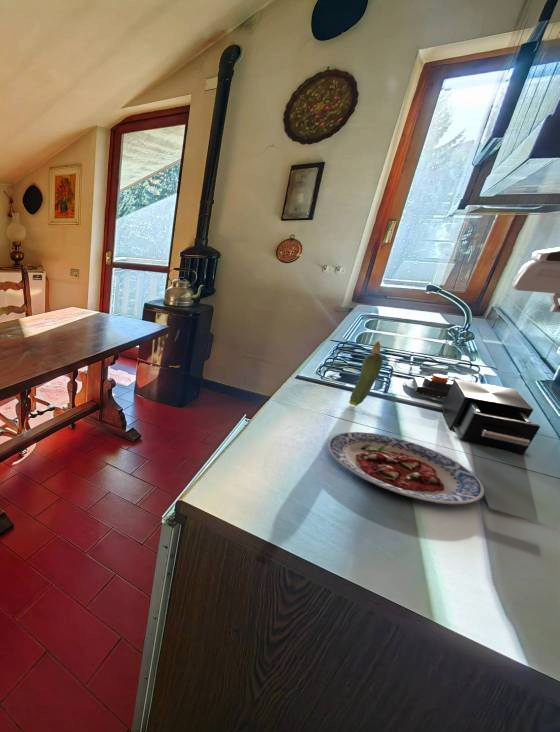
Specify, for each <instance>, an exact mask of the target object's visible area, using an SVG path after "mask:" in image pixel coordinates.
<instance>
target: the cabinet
mask: <svg viewBox="0 0 560 732" xmlns="http://www.w3.org/2000/svg"><path fill="white" fill-rule="evenodd" d="M452 382H453V384H452V386H451V388H450V390H449V393H448V395H447V397H446V398H444V402H443V403H442V404H441V405H442V406H441V408H440V411H441V413H442V416H443V419H444V420H445V423H446V425H447V427H448V429H449V430H450V431H452V432H453V431H454V432H456V429H455V428H454V427H456V426H458V425H457V423H458V421H459V419H460V417H461V414H462V412H463V410H464V408H465V406H466V404H467V402H468V400H469V401H474V402H479V403H484V404H490V405H495V406H500V407H505V408H511V409H516V410H521V411H522V412H523V413H524V414H525V415H526V416H527V418H528V419H530V416H531V415H532V413H533V411H534V409H533V407H532V406H531V405H530V404H529V402H527V401H526V399H525V398H524V397H523V396H522V395H521V394H520V393H519V392H518V390H516V389H515V388H510V387H504V386H498V385H493V384H487V383H481V382H476V381H470V380H463V379H457V378H455V379H453V381H452Z"/></svg>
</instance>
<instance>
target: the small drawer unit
mask: <svg viewBox="0 0 560 732" xmlns="http://www.w3.org/2000/svg"><path fill="white" fill-rule="evenodd" d="M456 426H457V427H458V429H459V432H460V433H461V436H460V437H459V438H460V441H462V442H466V443H471V444H474V445H479V446H483V447H488V448H491V449H496V450H501V451H505V452H509V453H513V454H517V455H522V456H524V455H525V453H526V452H527V450H528V449H529V447H530V445H531V443H532V442H533V440H534V438H535V436H536V435H537V434H538V431H539V430H540V428H541V426H540V425H539V424H537V423H532V421H531V420H530V418H527V416H526V415H525V414H524V413H523V412H522V411H521V410H516V409H511V408H505V407H500V406H495V405H490V404H484V403H479V402H474V401H469V400H468V402H467V404H466V406H465V408H464V410H463V412H462V414H461V417H460V419H459V421H458V423H457V425H456Z"/></svg>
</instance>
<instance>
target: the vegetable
mask: <svg viewBox="0 0 560 732" xmlns="http://www.w3.org/2000/svg"><path fill="white" fill-rule="evenodd" d="M380 353H381V343H380V341H378V340H377V341H376V342H375V343H374V345H373V346H372V349H371V353H369V354H367V355H365V357H364V359H363V360H362V362H361V363H362V364H361V369H360V375H359V377H358V381H357V382H356V384H355V386H354V387H353V390H352V392H351V395H350V398H349V401H348V403H349V405H351V406H354V407H358V406H359V405H360V404H361V403H363V402H364V400H365V399H366V398H367V397H368V395H369V394H370V391H371V389H372V387H373V386H374V384H375V382H376V380H377V378H378V376H379V374H380V372H381V369H382V366H383V363H384V362H383V361H384V360H383V357H382V355H380Z"/></svg>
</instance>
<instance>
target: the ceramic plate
mask: <svg viewBox="0 0 560 732" xmlns="http://www.w3.org/2000/svg"><path fill="white" fill-rule="evenodd" d="M328 450H329V452H330V454H331V456H333V458H334V459H335V460H336V461H337V462H338V463H339V464H340V465H342V466H343V467H344V468H346V469H347V470H349V472H350V471H351V473H353V474H354V475H356V476H358V477H359V478H362V479H363V480H366V481H367V482H369V483H372V484H374V485H375V486H378V487H380V488H382V489H385V490H387V491H391V492H394V493H396V494H399V495H402V496H406V497H409V498H413V499H416V500H420V501H426V502H430V503H436V504H443V505H444V504H445V505H466V504H471V503H475V502H478V501H479V500H480V499H482V498H483V496H484V495H485V488H484V487H485V486H484V485H483V483H482V482H481V480H480V479H479V477H477V475H475V474H474V473H473V472H472V471H470V470H469V469H468V468H466V466H464V465H462V464H461V463H459V462H458V461H456V460H454V459H452V458H450V457H449V456H447V455H444V454H443V453H441V452H438V451H436V450H433V449H431V448H429V447H427V446H424V445H421V444H418V443H415V442H412V441H409V440H406V439H402V438H399V437H395V436H390V435H385V434H381V433H375V432H373V433H372V432H363V431H361V432H360V431H348V432H342V433H338V434H336V435H333V436H332V437H331V438H330V439H329V441H328Z"/></svg>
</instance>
